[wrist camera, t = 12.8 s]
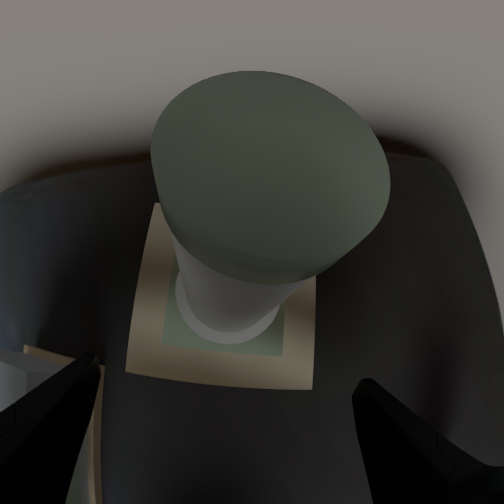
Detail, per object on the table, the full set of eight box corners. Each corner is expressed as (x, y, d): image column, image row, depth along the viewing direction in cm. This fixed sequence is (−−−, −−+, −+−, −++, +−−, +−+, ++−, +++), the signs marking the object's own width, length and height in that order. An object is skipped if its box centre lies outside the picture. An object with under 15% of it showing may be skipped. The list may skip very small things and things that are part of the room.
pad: (305, 388, 17) (312, 389, 16) (130, 371, 16) (124, 371, 15) (309, 230, 22) (315, 222, 20) (157, 211, 20) (154, 201, 19)
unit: (105, 530, 11) (65, 591, 3) (38, 504, 11) (-20, 543, 3) (105, 365, 16) (36, 362, 8) (35, 346, 15) (-47, 326, 8)
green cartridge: (291, 324, 18) (449, 234, 6) (195, 358, 16) (169, 344, 4) (256, 235, 19) (327, 59, 7) (164, 262, 18) (114, 83, 6)
